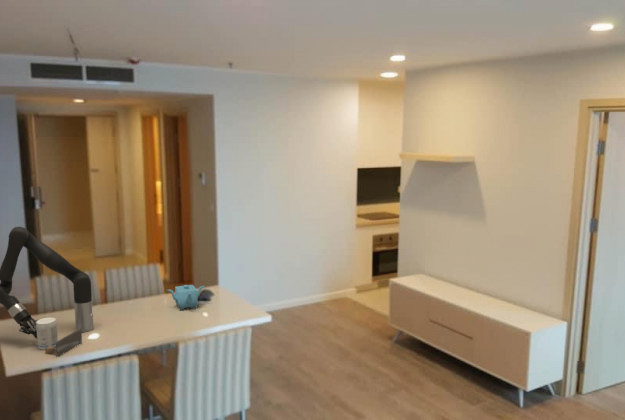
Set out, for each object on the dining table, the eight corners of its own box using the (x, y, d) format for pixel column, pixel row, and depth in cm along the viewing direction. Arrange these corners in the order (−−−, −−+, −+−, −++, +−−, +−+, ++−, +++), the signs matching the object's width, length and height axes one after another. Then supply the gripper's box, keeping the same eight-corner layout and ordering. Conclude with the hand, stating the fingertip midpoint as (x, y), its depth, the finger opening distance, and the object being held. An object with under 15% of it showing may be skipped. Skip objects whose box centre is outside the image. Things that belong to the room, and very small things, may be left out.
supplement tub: (53, 341, 284) (52, 315, 282) (60, 346, 278) (59, 320, 275) (35, 346, 277) (33, 320, 275) (41, 351, 271) (39, 325, 268)
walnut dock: (43, 354, 268) (42, 339, 266) (67, 341, 285) (67, 327, 284) (58, 356, 265) (57, 342, 264) (82, 343, 283) (81, 329, 281)
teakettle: (182, 300, 355) (182, 280, 353) (206, 304, 349) (206, 283, 346) (166, 309, 337) (165, 287, 335) (190, 313, 331) (190, 291, 329)
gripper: (13, 313, 272) (33, 338, 271) (32, 305, 284) (52, 329, 283) (5, 321, 274) (26, 346, 273) (25, 313, 287) (44, 337, 285)
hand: (39, 337), depth 278 cm, fingers closed
